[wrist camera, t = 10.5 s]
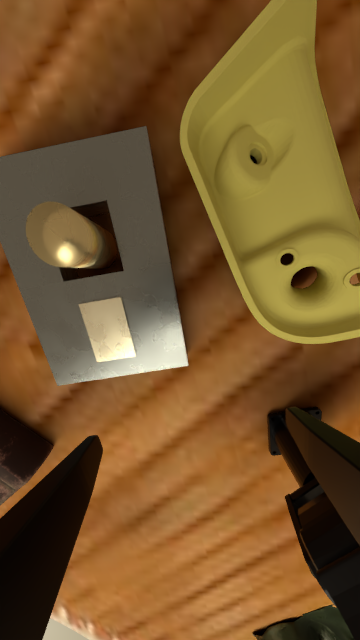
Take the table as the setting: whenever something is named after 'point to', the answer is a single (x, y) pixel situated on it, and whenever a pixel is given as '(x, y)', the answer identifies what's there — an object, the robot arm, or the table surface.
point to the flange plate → (103, 290)
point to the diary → (18, 455)
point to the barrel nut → (68, 238)
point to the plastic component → (277, 178)
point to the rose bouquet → (311, 627)
